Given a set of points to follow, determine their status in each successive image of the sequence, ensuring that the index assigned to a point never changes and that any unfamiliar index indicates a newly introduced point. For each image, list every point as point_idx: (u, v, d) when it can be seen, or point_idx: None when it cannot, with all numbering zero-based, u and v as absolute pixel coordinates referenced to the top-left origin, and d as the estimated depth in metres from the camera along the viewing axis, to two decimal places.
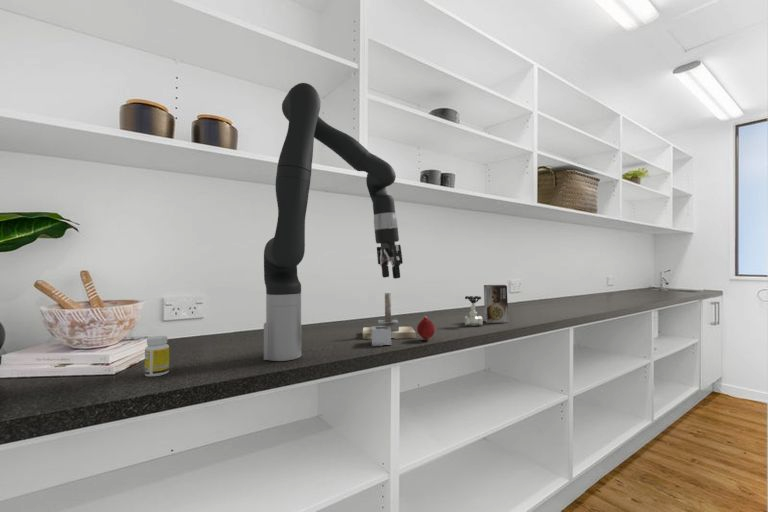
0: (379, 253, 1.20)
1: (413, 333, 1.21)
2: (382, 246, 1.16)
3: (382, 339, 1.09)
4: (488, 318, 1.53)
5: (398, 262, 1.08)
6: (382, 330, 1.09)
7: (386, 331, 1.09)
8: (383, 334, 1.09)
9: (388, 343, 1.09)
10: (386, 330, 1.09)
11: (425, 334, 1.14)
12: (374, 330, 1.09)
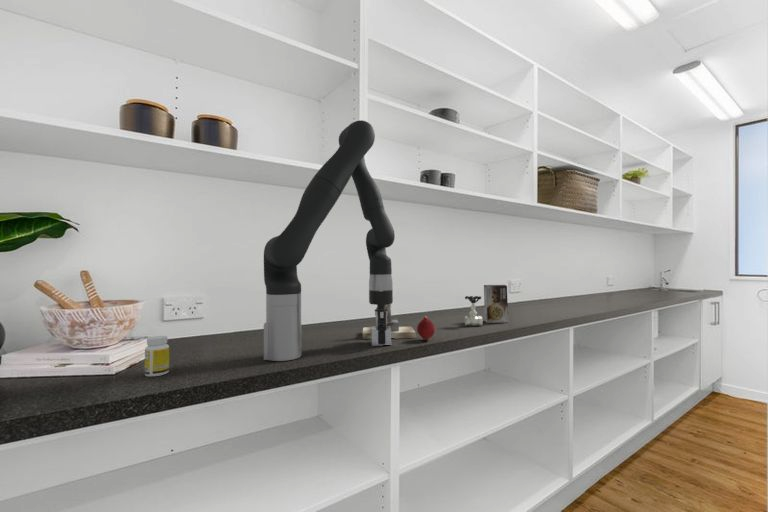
0: None
1: (413, 333, 1.21)
2: None
3: None
4: (488, 318, 1.53)
5: (381, 329, 1.06)
6: None
7: (386, 331, 1.09)
8: None
9: (388, 343, 1.09)
10: (386, 330, 1.09)
11: (425, 334, 1.14)
12: (374, 330, 1.09)
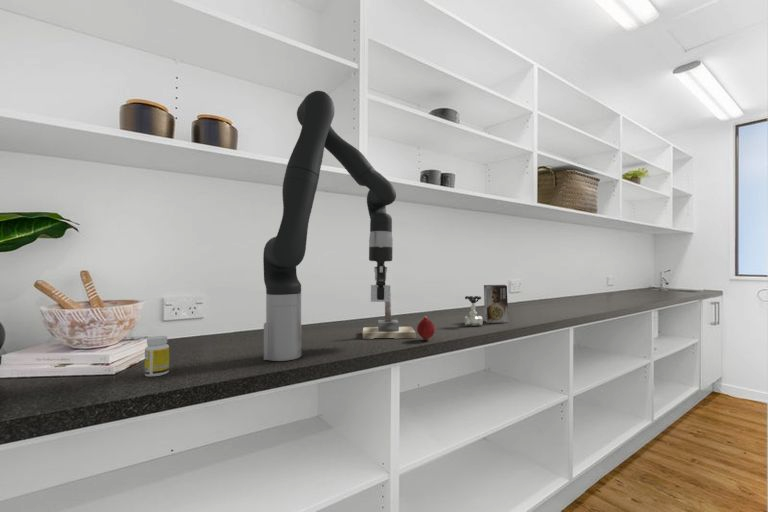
0: None
1: (413, 333, 1.21)
2: None
3: None
4: (488, 318, 1.53)
5: (380, 283, 1.07)
6: None
7: (385, 287, 1.10)
8: None
9: (387, 299, 1.10)
10: (385, 286, 1.10)
11: (425, 334, 1.14)
12: (373, 286, 1.10)
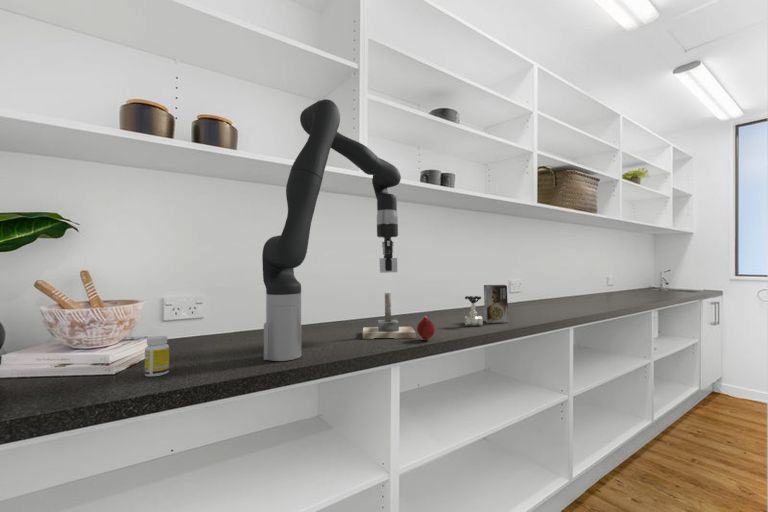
0: None
1: (413, 333, 1.21)
2: (384, 240, 1.28)
3: None
4: (488, 318, 1.53)
5: (388, 256, 1.20)
6: None
7: (393, 259, 1.23)
8: None
9: (394, 270, 1.23)
10: (392, 259, 1.23)
11: (425, 334, 1.14)
12: (382, 259, 1.23)
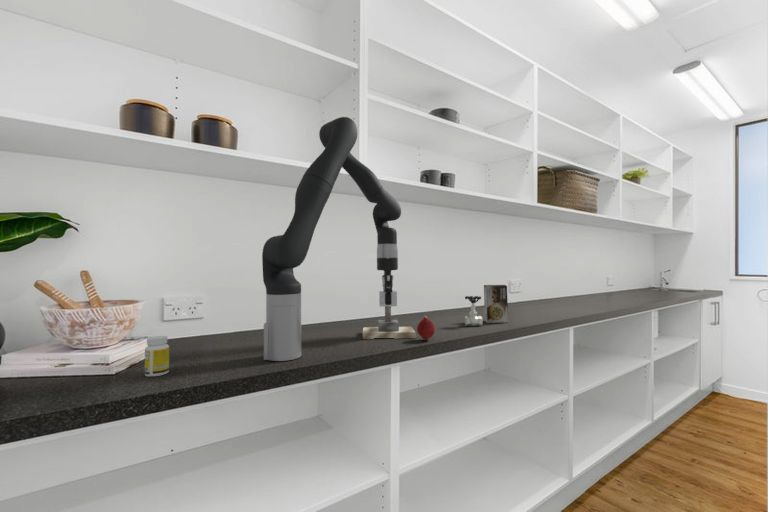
0: None
1: (413, 333, 1.21)
2: None
3: None
4: (488, 318, 1.53)
5: (388, 291, 1.21)
6: None
7: (392, 293, 1.24)
8: None
9: (394, 304, 1.24)
10: (392, 293, 1.24)
11: (425, 334, 1.14)
12: (382, 292, 1.24)
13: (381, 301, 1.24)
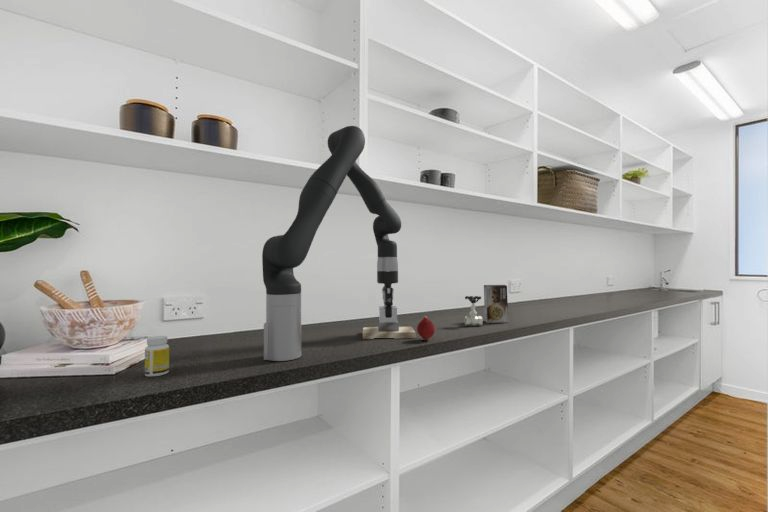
0: None
1: (413, 333, 1.21)
2: (384, 286, 1.29)
3: None
4: (488, 318, 1.53)
5: (388, 303, 1.20)
6: None
7: (392, 309, 1.24)
8: None
9: (394, 320, 1.24)
10: (392, 309, 1.24)
11: (425, 334, 1.14)
12: (382, 309, 1.24)
13: (381, 317, 1.23)
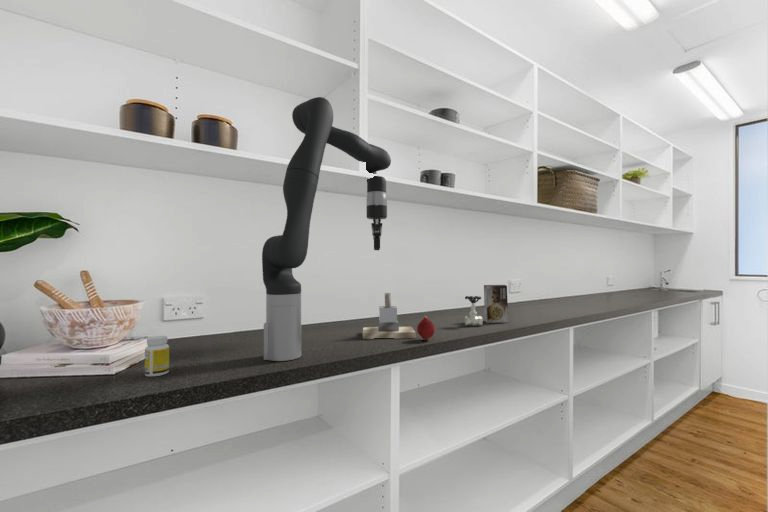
0: None
1: (413, 333, 1.21)
2: None
3: (389, 316, 1.24)
4: (488, 318, 1.53)
5: (376, 234, 1.22)
6: (389, 309, 1.24)
7: (392, 309, 1.24)
8: (390, 312, 1.24)
9: (394, 320, 1.24)
10: (392, 309, 1.24)
11: (425, 334, 1.14)
12: (382, 309, 1.24)
13: (381, 317, 1.23)
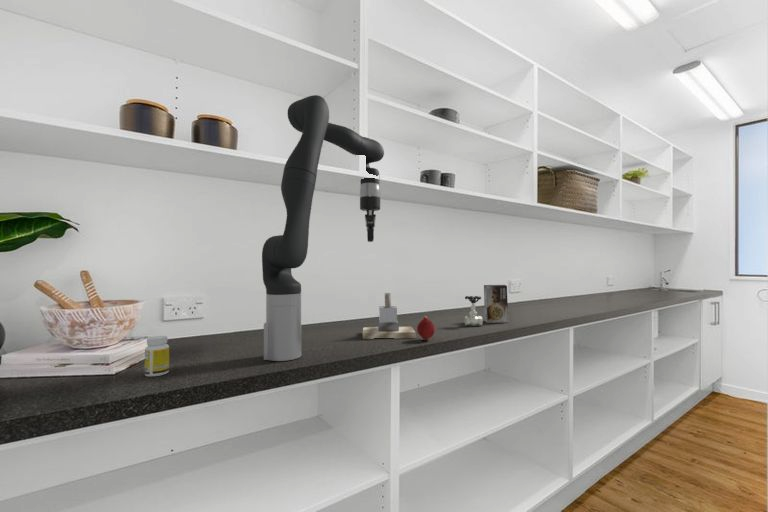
0: None
1: (413, 333, 1.21)
2: None
3: (389, 316, 1.24)
4: (488, 318, 1.53)
5: (369, 225, 1.23)
6: (389, 309, 1.24)
7: (392, 309, 1.24)
8: (390, 312, 1.24)
9: (394, 320, 1.24)
10: (392, 309, 1.24)
11: (425, 334, 1.14)
12: (382, 309, 1.24)
13: (381, 317, 1.23)
